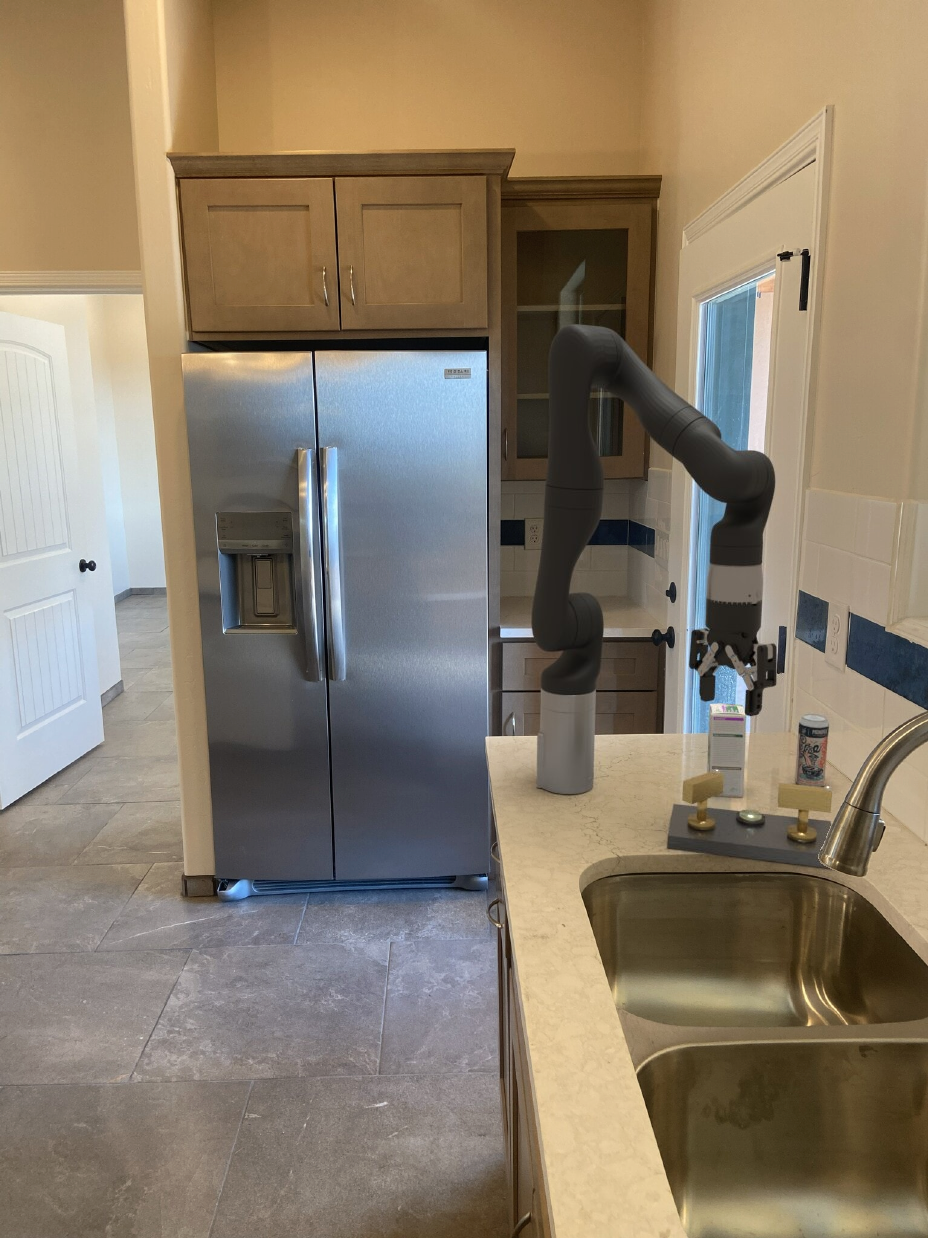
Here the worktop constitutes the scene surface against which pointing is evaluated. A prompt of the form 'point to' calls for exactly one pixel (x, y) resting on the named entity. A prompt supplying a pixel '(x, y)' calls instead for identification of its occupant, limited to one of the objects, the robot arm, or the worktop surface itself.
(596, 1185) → the worktop surface
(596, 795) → the worktop surface
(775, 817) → the levelling plate
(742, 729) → the syrup box
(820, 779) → the beer can
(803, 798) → the knob
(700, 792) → the knob
